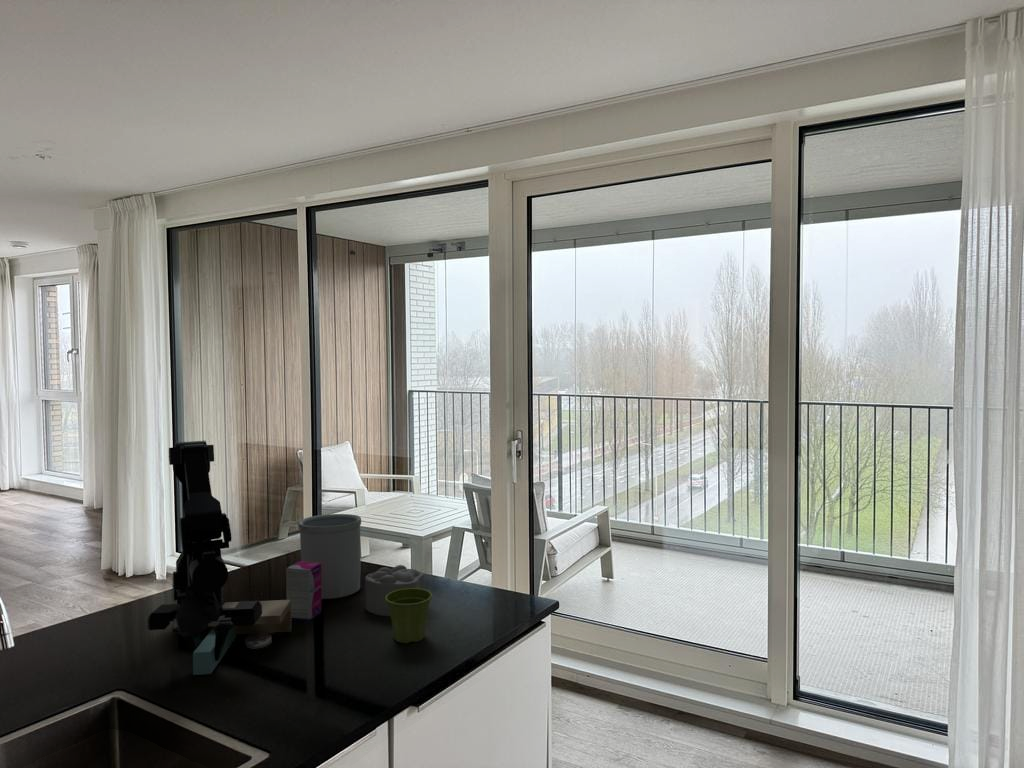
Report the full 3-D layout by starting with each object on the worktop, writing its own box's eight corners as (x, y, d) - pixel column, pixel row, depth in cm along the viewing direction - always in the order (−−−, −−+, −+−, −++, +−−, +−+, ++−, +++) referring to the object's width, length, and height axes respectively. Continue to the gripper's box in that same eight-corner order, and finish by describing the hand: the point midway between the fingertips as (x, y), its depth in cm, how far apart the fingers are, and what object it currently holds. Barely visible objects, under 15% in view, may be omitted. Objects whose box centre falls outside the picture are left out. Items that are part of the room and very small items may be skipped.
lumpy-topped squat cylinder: (412, 617, 152) (412, 578, 152) (357, 614, 154) (356, 575, 154) (428, 601, 162) (427, 564, 162) (376, 598, 165) (375, 562, 164)
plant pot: (441, 632, 143) (440, 591, 143) (416, 650, 134) (415, 606, 134) (403, 626, 147) (402, 585, 147) (376, 643, 138) (375, 600, 138)
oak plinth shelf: (202, 651, 135) (201, 619, 135) (218, 633, 144) (217, 602, 144) (281, 648, 137) (280, 615, 136) (291, 630, 146) (290, 599, 145)
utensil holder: (306, 582, 177) (304, 514, 177) (365, 579, 179) (363, 511, 178) (294, 602, 163) (292, 528, 162) (359, 598, 164) (357, 525, 164)
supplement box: (310, 621, 150) (309, 569, 150) (285, 620, 151) (284, 568, 151) (323, 612, 156) (321, 561, 155) (299, 610, 157) (297, 560, 157)
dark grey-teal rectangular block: (193, 675, 125) (192, 652, 125) (220, 639, 141) (220, 619, 141) (210, 673, 125) (210, 651, 125) (235, 638, 142) (235, 618, 142)
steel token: (241, 651, 136) (241, 643, 136) (249, 641, 141) (249, 633, 141) (267, 650, 136) (267, 642, 136) (274, 640, 141) (274, 632, 141)
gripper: (131, 594, 119) (135, 683, 119) (243, 589, 120) (246, 677, 121) (159, 573, 130) (162, 656, 130) (261, 569, 131) (264, 651, 132)
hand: (207, 660), depth 128 cm, fingers closed on dark grey-teal rectangular block, 3 cm apart
